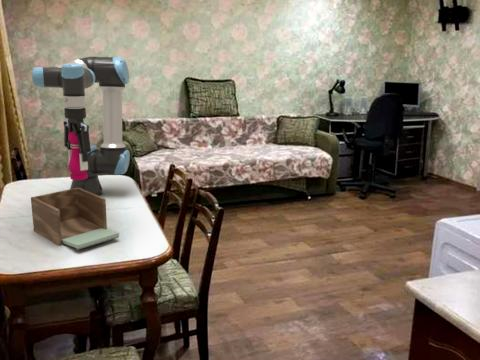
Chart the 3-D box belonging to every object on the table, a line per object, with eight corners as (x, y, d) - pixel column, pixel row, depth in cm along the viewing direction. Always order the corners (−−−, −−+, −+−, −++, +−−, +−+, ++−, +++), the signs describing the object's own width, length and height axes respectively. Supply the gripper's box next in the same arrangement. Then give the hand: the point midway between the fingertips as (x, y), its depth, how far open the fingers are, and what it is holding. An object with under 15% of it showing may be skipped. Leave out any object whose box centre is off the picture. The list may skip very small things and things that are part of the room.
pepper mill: (65, 178, 186) (62, 125, 181) (82, 174, 191) (79, 124, 186) (75, 181, 181) (72, 128, 176) (92, 178, 187) (90, 126, 181)
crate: (80, 218, 204) (78, 187, 201) (107, 231, 191) (105, 198, 188) (33, 230, 190) (30, 197, 187) (58, 245, 177) (56, 210, 174)
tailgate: (101, 228, 191) (118, 232, 183) (102, 232, 191) (119, 237, 183) (61, 239, 179) (77, 245, 171) (61, 244, 179) (78, 250, 171)
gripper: (51, 105, 183) (55, 164, 189) (80, 111, 170) (83, 174, 176) (70, 103, 188) (73, 161, 194) (99, 109, 175) (102, 171, 181)
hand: (78, 167), depth 185 cm, fingers closed on pepper mill, 7 cm apart
